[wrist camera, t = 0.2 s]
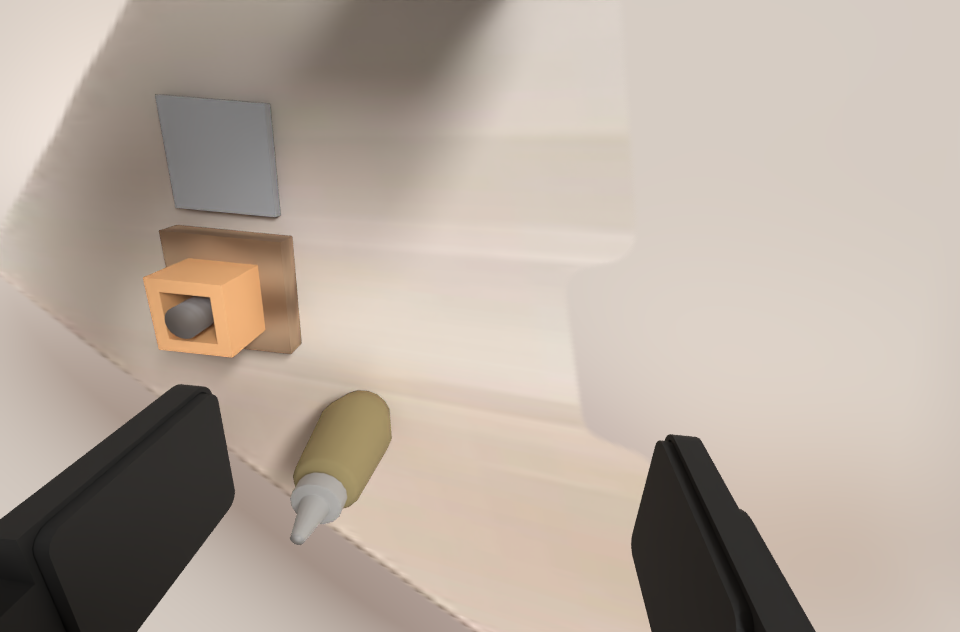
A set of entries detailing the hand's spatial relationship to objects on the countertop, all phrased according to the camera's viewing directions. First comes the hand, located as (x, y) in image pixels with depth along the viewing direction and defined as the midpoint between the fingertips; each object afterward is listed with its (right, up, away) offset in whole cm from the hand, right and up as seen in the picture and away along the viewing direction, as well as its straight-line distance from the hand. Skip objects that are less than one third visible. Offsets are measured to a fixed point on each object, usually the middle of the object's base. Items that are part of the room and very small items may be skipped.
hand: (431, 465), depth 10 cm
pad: (-23, +18, +34) cm, 45 cm away
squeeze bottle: (-12, -8, +45) cm, 47 cm away
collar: (-24, +5, +37) cm, 45 cm away
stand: (-24, +6, +39) cm, 47 cm away
